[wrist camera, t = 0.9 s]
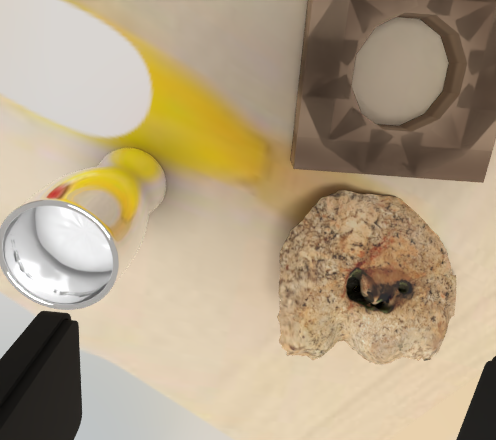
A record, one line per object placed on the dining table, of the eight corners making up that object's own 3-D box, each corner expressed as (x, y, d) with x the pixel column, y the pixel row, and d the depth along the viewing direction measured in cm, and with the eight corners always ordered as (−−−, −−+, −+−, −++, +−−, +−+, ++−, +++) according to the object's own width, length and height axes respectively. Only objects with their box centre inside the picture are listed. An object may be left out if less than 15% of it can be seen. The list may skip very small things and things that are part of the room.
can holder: (312, -44, 31) (318, -55, 28) (517, -28, 31) (544, -37, 28) (290, 160, 36) (293, 168, 33) (465, 173, 36) (483, 182, 33)
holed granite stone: (412, 190, 44) (477, 195, 36) (400, 325, 45) (461, 355, 38) (250, 186, 37) (292, 190, 30) (244, 345, 38) (282, 386, 31)
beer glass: (98, 131, 35) (-4, 180, 21) (179, 155, 36) (133, 217, 22) (86, 207, 38) (-13, 296, 24) (162, 228, 38) (110, 326, 24)
